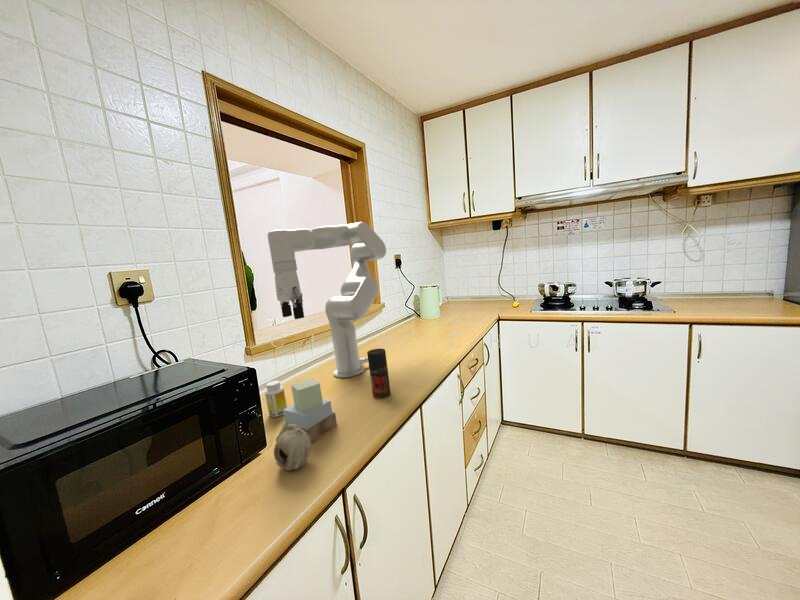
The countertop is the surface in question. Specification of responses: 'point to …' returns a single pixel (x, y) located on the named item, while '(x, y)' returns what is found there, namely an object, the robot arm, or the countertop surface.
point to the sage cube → (307, 394)
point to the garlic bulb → (292, 447)
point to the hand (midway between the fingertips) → (293, 317)
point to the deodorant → (379, 373)
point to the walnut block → (321, 427)
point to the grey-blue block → (307, 415)
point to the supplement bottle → (275, 398)
